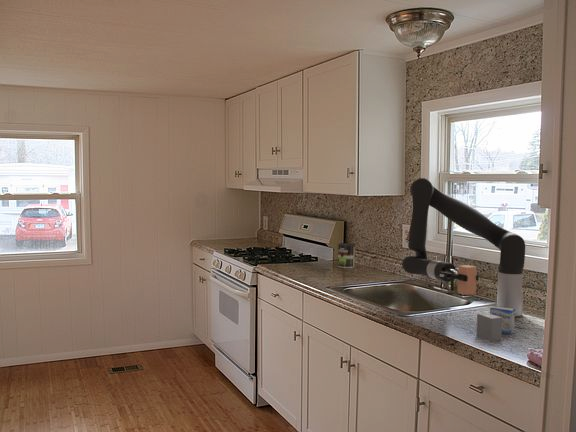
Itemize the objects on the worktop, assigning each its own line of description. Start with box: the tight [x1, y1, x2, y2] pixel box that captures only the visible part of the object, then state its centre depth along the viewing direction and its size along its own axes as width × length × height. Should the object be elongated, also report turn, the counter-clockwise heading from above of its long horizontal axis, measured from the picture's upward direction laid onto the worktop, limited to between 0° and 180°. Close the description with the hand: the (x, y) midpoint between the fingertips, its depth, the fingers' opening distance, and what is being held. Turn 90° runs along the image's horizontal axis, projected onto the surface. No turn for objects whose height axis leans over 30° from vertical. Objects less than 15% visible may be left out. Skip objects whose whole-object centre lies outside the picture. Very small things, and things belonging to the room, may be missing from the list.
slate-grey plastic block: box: [476, 312, 503, 343], centre depth 191 cm, size 4×7×8 cm, turn 24°
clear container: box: [337, 242, 356, 269], centre depth 338 cm, size 10×10×14 cm
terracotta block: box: [457, 264, 477, 296], centre depth 202 cm, size 4×4×10 cm
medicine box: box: [489, 305, 516, 335], centre depth 200 cm, size 8×4×9 cm, turn 56°
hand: (472, 278), depth 200 cm, fingers closed on terracotta block, 4 cm apart
